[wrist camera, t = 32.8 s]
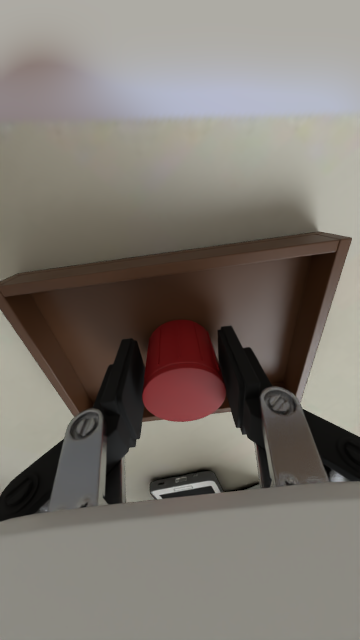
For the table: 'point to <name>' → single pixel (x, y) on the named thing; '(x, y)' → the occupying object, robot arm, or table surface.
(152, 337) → the cap
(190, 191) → the table surface
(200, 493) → the cell phone
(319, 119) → the table surface
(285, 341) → the tray
